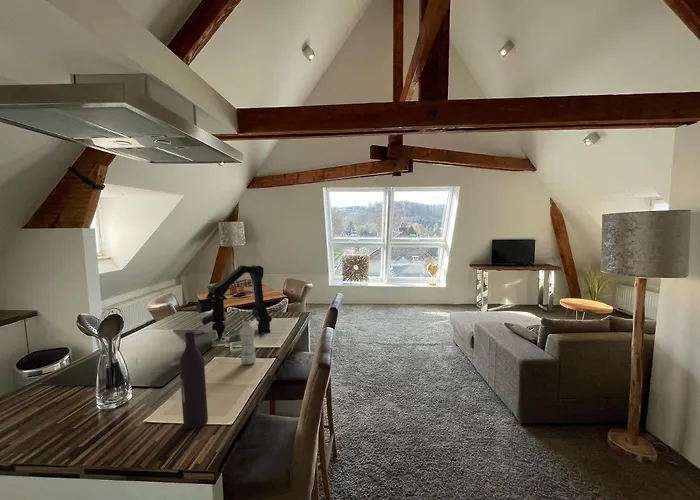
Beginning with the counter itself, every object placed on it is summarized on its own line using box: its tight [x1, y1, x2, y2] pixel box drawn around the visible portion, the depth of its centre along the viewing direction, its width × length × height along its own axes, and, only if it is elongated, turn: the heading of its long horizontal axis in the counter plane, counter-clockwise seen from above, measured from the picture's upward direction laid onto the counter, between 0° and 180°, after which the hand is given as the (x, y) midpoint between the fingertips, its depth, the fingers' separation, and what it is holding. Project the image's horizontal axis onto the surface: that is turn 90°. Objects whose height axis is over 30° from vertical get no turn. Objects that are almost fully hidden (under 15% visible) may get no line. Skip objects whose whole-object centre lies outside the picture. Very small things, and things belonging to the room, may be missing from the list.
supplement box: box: [200, 309, 216, 334], centre depth 204 cm, size 7×7×13 cm
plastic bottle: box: [239, 318, 257, 366], centre depth 154 cm, size 6×7×20 cm
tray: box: [229, 340, 257, 356], centre depth 173 cm, size 12×12×2 cm
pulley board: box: [211, 332, 241, 347], centre depth 183 cm, size 18×13×4 cm
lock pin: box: [215, 331, 225, 341], centre depth 181 cm, size 4×4×8 cm
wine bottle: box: [179, 329, 209, 431], centre depth 107 cm, size 7×7×30 cm
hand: (220, 337), depth 181 cm, fingers closed on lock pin, 4 cm apart
